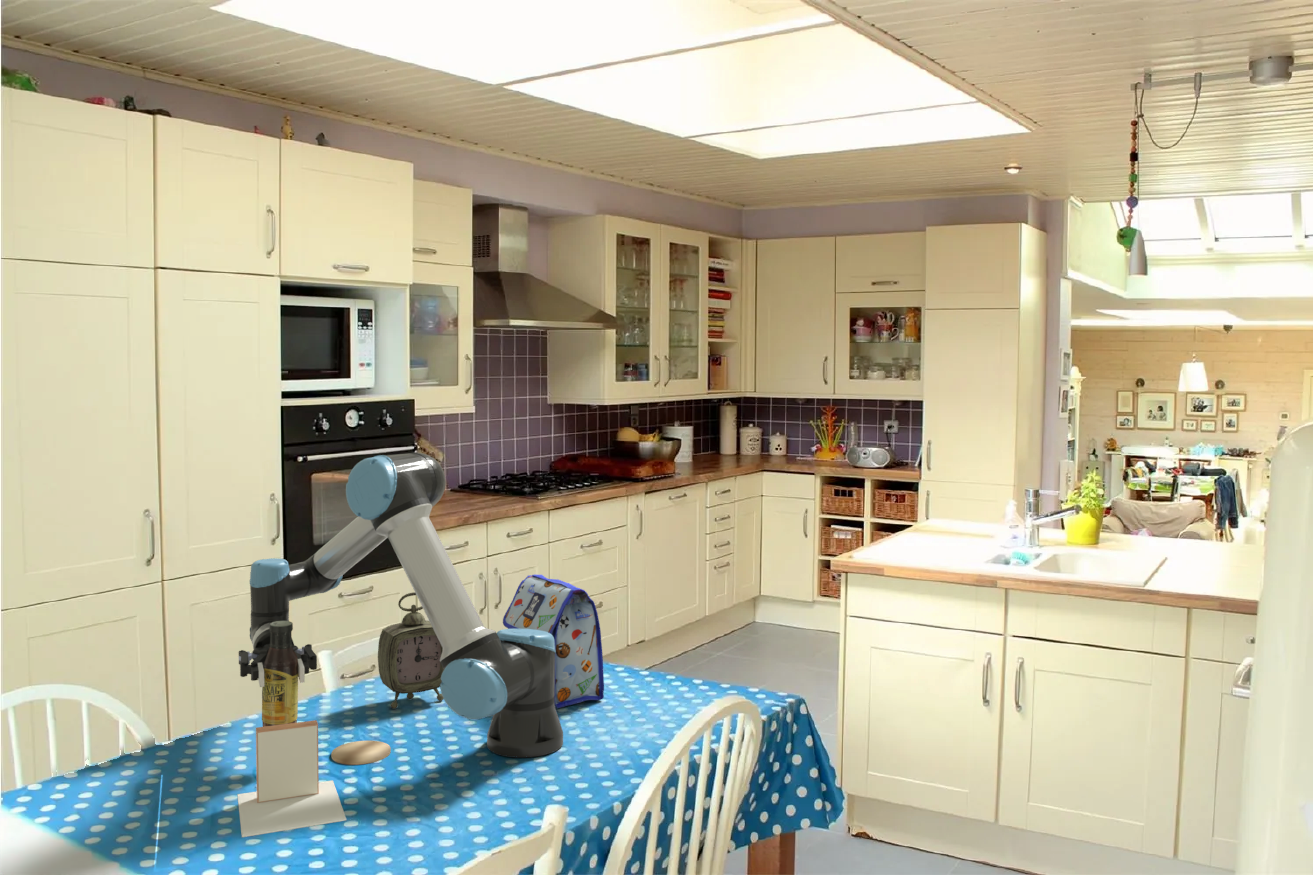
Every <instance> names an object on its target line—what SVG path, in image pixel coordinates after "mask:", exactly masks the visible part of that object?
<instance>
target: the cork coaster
mask: <svg viewBox="0 0 1313 875" xmlns="http://www.w3.org/2000/svg"><path fill="white" fill-rule="evenodd" d="M391 749H392V748H391V746H390V745H389V744H388V743H386V742H383V741H379V740H358V741H357V740H356V741H351V742H347V743H343V744H341V745H339V746H337V747H335V748H334V749H333V750H331V760H332V761H334V762H335V763H338V764H342V765H348V766H349V765H352V766H353V765H354V766H355V765H357V766H358V765H368V764H374V763H376V762H379V761H382V760H385V759H386V758H388V757H389V756H390V754H391V751H392V750H391Z"/></svg>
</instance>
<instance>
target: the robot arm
mask: <svg viewBox="0 0 1313 875" xmlns="http://www.w3.org/2000/svg"><path fill="white" fill-rule="evenodd" d="M347 478H348V479H347V482H346V484H345V497H346V500H347V501H346V502H347V504H348V508H350V510H351V511H352V513H353V514H354V515H355V516H357V517H356V518H354V519H353V520H352V521H351V522H350V523H349V524H347V525H346V526H344V528H342V529H341V530H340V531H339V532H338V533H337V534H336V535H334V536H333V537H332V538H330V539H329V541H328V542H326V543H325V544H324V545H323V546H322V547H320V548H319V549H318V550H317V551H316V552H315V553H314V554H313V555H311V556H310V557H309V558H308V559H306V560H304V561H301V562H300V561H299V562H297V563H292V564H289V561H287V560H286V559H284V558H275V557H274V558H265V559H264V558H263V559H258V560H255V561H254V562H252V564H251V565H250V574H249V576H250V577H249V578H250V579H249V586H250V627H249V639H250V641H251V644H252V649H253V650H252V652H250V651H247V650H244V649H241V650H239V651H238V665H239V671H240V672H239V673H240V674H239V676H240V677H241V678H245V677H247V676H248V675H250V680H251V681H252V682H253V681H254V682H255V681H258V686H259V688H262V687H264V669H263V666H264V663H265V660H266V657H267V653H268V650H269V647H270V631H269V627H270V623H272V622H275V621H290V602H291V601H294V600H298V599H301V598H305V597H310V596H314V595H315V596H316V595H318V594H324V593H327V592H329V591H330V590H334V589H335V588H337V587H338V586H340V584H341V582H342V579H343V575H345V574H346V573H347V572H348V571H349V570H351V569H352V568H353V567H354V566H355V565H356V564H358V563H359V562H360V561H362V560H363V559H364V558H365V557H366V556H367V555H369V554H370V553H371V552H373V550H374V549H375V548H377V547H378V546H379V545H381V544H382V543H383V542H384V541H386V540H387V539H388V541H389V542H390V544H391V546H392V548H393V551H394V553H395V554H396V556H397V557H396V558H397V559H398V561H399V562H400V565H401V566H402V569H403V570H404V572H405V575H406V577H407V579H408V581H409V582H410V584H411V587H412V588H413V589H412V590H413V592H415V593H416V595H415V596H416V597H417V599H418V601H419V603H420V605H421V606H422V607H423V609H422V610H423V611H424V613H425V615H426V618H427V619H428V621H430V623H431V625H432V627H433V629H434V631H435V633H436V636H437V638H438V640H439V642H440V644H441V646H442V648H443V651H442V654H441V657H440V663H441V665H442V667H443V669H444V671H443V673H442V675H441V680H442V682H441V684H440V687H439V689H440V692H441V693H440V694H442V696H443V698H444V699H443V701H444V702H445V704H446V705H447V707H449V710H451V711H452V712H453V713H455V714H456V715H458V716H460V717H461V718H465V719H467V720H480V719H484V718H487V717H491V716H492V718H491V722H490V725H489V728H488V731H487V733H486V734H487V735H486V748H487V749H488V750H489V751H490V752H492V753H494V754H496V755H498V756H502V757H509V758H535V757H541V756H546V755H549V754H551V753H554V752H556V751H558V750H560V749H561V748H562V747H563V745H564V731H563V730H564V729H563V728H562V724H561V722H560V719H559V718H560V717H559V715H558V711H557V708H556V707H555V653H556V650H555V643H554V637H553V636H552V634H550V633H548V632H546V631H541V630H534V629H508V628H504V629H503V628H502V629H500V630H498V631H496V630H494V629H490V628H487V627H486V626H484V623H483V622H482V620H481V618H480V615H479V614H478V611H477V610H476V607H475V606H474V604H473V602H472V600H471V597H470V596H469V594H468V592H467V590H466V588H465V586H464V584H463V582H462V580H461V578H460V576H459V574H458V572H457V570H456V568H455V566H454V564H453V563H452V560H451V558H450V556H449V554H448V552H447V551H446V548H445V546H444V544H443V542H442V540H441V539H440V537H439V535H438V533H437V530H436V528H435V526H434V524H433V523H432V521H431V519H430V515H431V513H432V509H433V507H435V506H436V504H437V503H439V501H440V500H441V499H442V497H443V496H444V494H445V490H446V484H447V483H446V482H447V481H446V475H445V471H444V469H443V467H442V465H441V464H440V463H439V462H438V460H437V459H435V458H434V457H433V456H430V455H429V454H427V453H424V452H423V453H422V452H415V451H414V452H408V453H399V454H387V455H384V454H382V455H381V454H378V455H374V456H373V457H366V458H363V459H362V460H360V461H359V462H357V463H356V464H355V465H354V466H353V468H352V469H351V471H350V473H349V475H348V476H347ZM291 642H292V648H293V651H294V652H295V653H296V655H297V658H298V681H299V683H300V684H301V683H305V682H306V680H305V678H306V676H305V675H306V674H309V673H310V670H312V671H315V670H317V669H318V658H317V657H318V656H317V654H316V653H315V651H314V650H313V645H312V644H309V643H308V644H305V645H303V646H301V648H299V647H298V646H297V645H295V643H294V640H293V638H292V636H291Z"/></svg>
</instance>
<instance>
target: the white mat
mask: <svg viewBox="0 0 1313 875" xmlns="http://www.w3.org/2000/svg"><path fill="white" fill-rule="evenodd" d="M237 802H238V803H237V805H238V814H239V823H240V832H241V834H240V835H241V838H246V837H253V836H259V835H265V834H271V833H279V832H282V831H283V832H285V831H289V830H296V829H303V828H309V827H314V826H320V825H327V824H332V823H339V822H345V821H347V817H346V814H345V811H344V808H343V806H342V803H341V800H340V796H339V794H338V791H337V788H336V786H335V783H334V780H326V781H319V794H313V795H306V796H299V797H293V798H286V799H280V800H273V801H266V802H260V803H257V791H250V792H244V793H237Z"/></svg>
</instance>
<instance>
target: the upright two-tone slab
mask: <svg viewBox="0 0 1313 875" xmlns="http://www.w3.org/2000/svg"><path fill="white" fill-rule="evenodd" d="M255 761H256V762H255V764H256V765H255V766H256V767H255V768H256V770H255V772H256V776H255V777H256V779H255V780H256V792H257V803H260V802H266V801H273V800H280V799H286V798H293V797H299V796H306V795H313V794H319V782H320V781H319V776H320V775H319V723H318V721H317V720H316V719H315V720H314V719H313V720H307V721H299V722H298V721H297V723H290V724H281V725H273V726H265V727H263V726H259V727H255Z"/></svg>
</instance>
